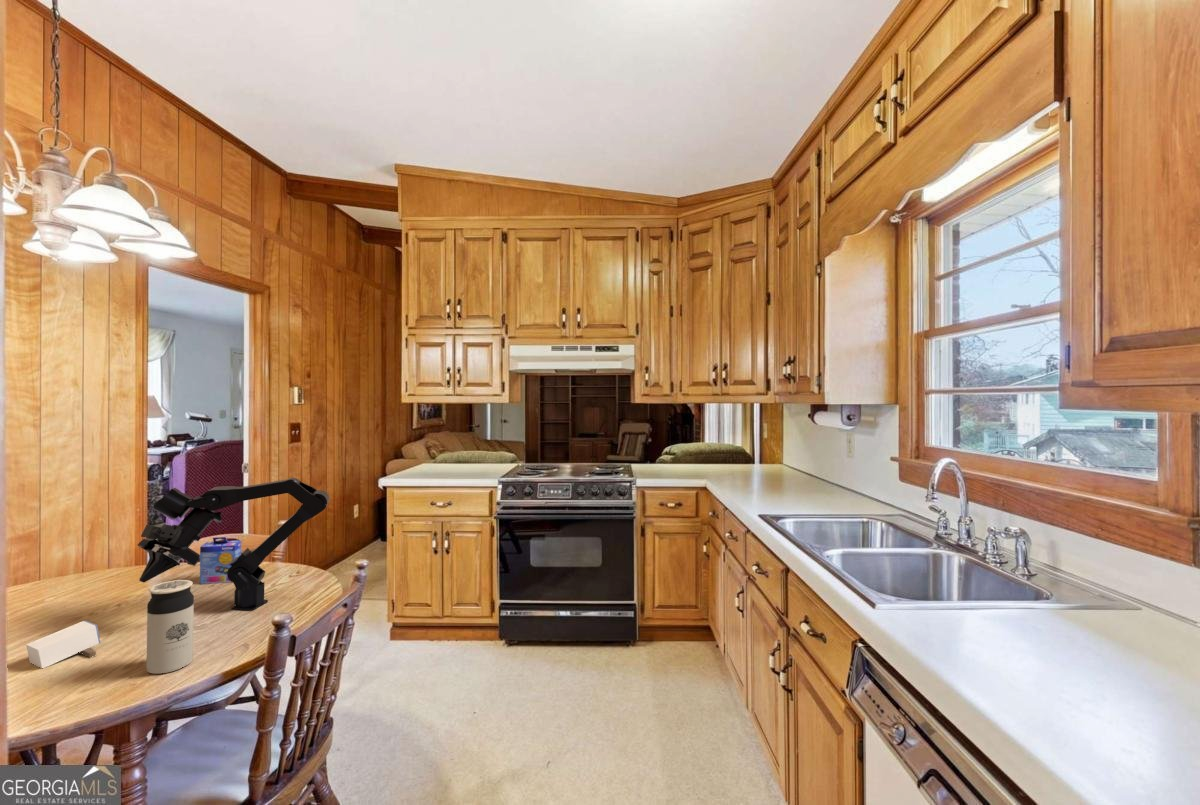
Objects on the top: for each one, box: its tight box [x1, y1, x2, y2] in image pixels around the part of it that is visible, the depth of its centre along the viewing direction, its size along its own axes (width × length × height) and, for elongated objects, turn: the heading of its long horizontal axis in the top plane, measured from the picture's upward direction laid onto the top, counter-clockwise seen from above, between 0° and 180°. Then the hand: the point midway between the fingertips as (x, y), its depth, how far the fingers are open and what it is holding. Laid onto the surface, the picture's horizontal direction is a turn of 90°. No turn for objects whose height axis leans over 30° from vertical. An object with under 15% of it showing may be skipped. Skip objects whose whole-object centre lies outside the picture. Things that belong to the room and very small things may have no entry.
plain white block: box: [25, 620, 101, 669], centre depth 118 cm, size 4×6×10 cm
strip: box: [79, 648, 97, 658], centre depth 120 cm, size 1×12×1 cm, turn 67°
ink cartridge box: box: [199, 536, 242, 585], centre depth 166 cm, size 10×6×14 cm, turn 107°
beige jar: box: [145, 579, 195, 675], centre depth 115 cm, size 8×8×18 cm
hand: (141, 581), depth 131 cm, fingers closed
